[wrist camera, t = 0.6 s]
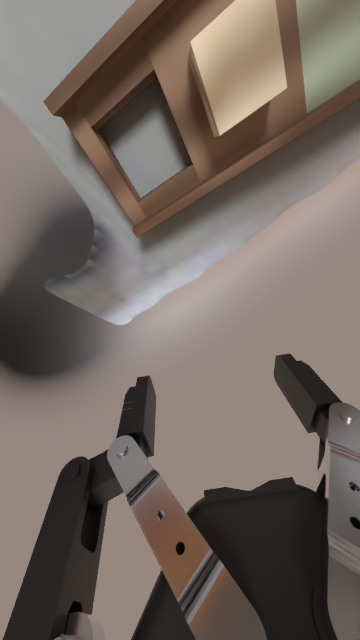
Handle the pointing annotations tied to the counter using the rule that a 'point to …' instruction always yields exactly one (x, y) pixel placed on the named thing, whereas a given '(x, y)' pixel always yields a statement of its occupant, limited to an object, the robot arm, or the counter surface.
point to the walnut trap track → (185, 101)
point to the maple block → (238, 62)
